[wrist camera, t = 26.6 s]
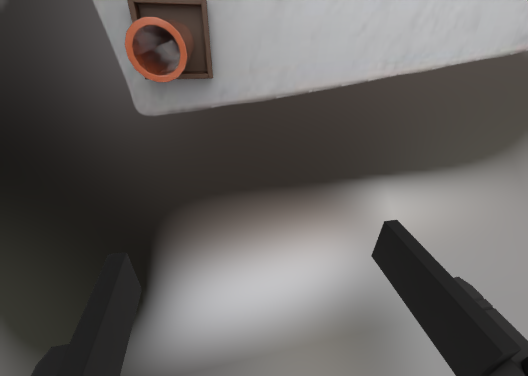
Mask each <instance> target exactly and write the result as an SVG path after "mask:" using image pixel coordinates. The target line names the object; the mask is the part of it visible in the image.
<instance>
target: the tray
mask: <svg viewBox="0 0 528 376" xmlns="http://www.w3.org/2000/svg"><path fill="white" fill-rule="evenodd" d="M127 1H128V5H129V9H130V14H131V18H132V23H133V22H134V21H136V20H138V19H140V18H142V17H159V18H166V19H173V20H177V21H180V22H182V23H183V24H185V25H186V26H187V27H188V28H189V29H190V31H191V33H192V35H193V37H194V43H195V47H194V51H193V54H192V56H191V58H190V59H189V61H188V63H187V65H186V67H185V69H184V70H183V72H182V73H181V74H180V75H179V77H177V78H176V79H206V78H213V72H212V61H211V49H210V38H209V26H208V15H207V3H206V0H127ZM145 79H148V78H146V77H145Z"/></svg>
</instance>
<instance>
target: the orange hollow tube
mask: <svg viewBox="0 0 528 376" xmlns="http://www.w3.org/2000/svg"><path fill="white" fill-rule="evenodd" d="M194 47H195V43H194V37H193V35H192V33H191V31H190V29H189V28H188V27H187V26H186V25H185V24H183V23H182V22H180V21H177V20H173V19H166V18H159V17H142V18H140V19H138V20H136V21H134V22H133V23H132V25H131V26H130V27H129V29H128V30H127V33H126V39H125V48H126V52H127V56H128V58H129V60H130V62H131V63H132V65H133V66H134V68H135V69H136V70H137V71H138V72H139V73H140V74H142V75H143V76H144V77H146V78H148V79H150V80H153V81H156V82H169V81H171V80H174V79H176V78H177V77H179V75H180V74H181V73H182V72H183V70H184V69H185V67H186V65H187V63H188V61H189V59H190V58H191V56H192V54H193V51H194Z"/></svg>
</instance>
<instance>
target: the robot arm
mask: <svg viewBox="0 0 528 376" xmlns="http://www.w3.org/2000/svg"><path fill="white" fill-rule="evenodd" d="M372 257H373V259H374V260H375V262H376V263H377V264H378V266H379V267H380V269H381V270H382V271H383V273H384V274H385V276H386V277H387V278H388V280H389V281H390V283H391V284H392V286H393V287H394V289H395V290H396V291H397V293H398V294H399V296H400V297H401V298H402V300H403V301H404V303H405V304H406V306H407V307H408V308H409V310H410V311H411V312H412V314H413V315H414V317H415V318H416V320H417V321H418V322H419V324H420V325H421V327H422V328H423V329H424V331H425V332H426V334H427V335H428V337H429V338H430V339H431V341H432V342H433V344H434V345H435V347H436V348H437V349H438V351H439V352H440V354H441V355H442V356H443V358H444V359H445V361H446V362H447V363H448V365H449V366H450V368H451V369H452V371H453V372H454V373H455V375H456V376H528V341H527V340H526V339H525V338H524V337H523V336H522V335H521V334H520V333H519V332H518V331H517V330H516V329H515V328H514V327H513V326H512V325H511V324H510V323H509V322H508V321H507V320H506V319H505V318H504V317H503V316H502V315H501V314H500V313H499V312H498V311H497V310H496V309H494V308H493V307H492V305H491V304H490V303H489V302H488V301H487V300H486V299H484V298H483V296H482V295H481V294H480V293H479V292H478V291H477V290H476V289H475V288H474V287H473V286H472V285H470V284H468V283H467V282H466V281H464V280H463V279H461V278H460V277H455V278H453V277H452V276H451V275H450V274H449V273H448V272H447V271H446V270H445V269H444V268H443V267H442V266H441V265H440V264H439V263H438V262H437V261H436V260H435V259H434V258H433V257H432V256H431V254H430V253H429V252H428V251H427V250H426V249H425V248H424V247H423V246H422V245H421V244H420V243H419V242H418V241H417V240H416V239H415V238H414V237H413V236H412V235H411V234H410V233H409V232H408V231H407V230H406V229H405V228H404V227H403V226H402V225H401V223H400V222H398V220H391V221H384V224H383V227H382V229H381V232H380V234H379V237H378V240H377V243H376V245H375V248H374V251H373V253H372ZM140 293H141V287H140V284H139V282H138V279H137V277H136V275H135V272H134V270H133V267H132V265H131V262H130V260H129V258H128V255H127V253H117V254H109V255H108V256H107V259H106V261H105V263H104V266H103V268H102V270H101V272H100V275H99V278H98V280H97V282H96V284H95V286H94V289H93V291H92V293H91V295H90V298H89V300H88V302H87V305H86V307H85V309H84V312H83V314H82V316H81V319H80V321H79V323H78V325H77V328H76V330H75V333H74V335H73V337H72V339H71V342H70V344H67V345H61V346H56V347H51V348H50V349H49V351H48V352H47V353H46V354H45V355H44V357H43V358H42V359H41V360H40V361H39V362H38V364H37V365H36V367H35V369H34V371H33V373H32V375H31V376H120V373H121V369H122V365H123V361H124V357H125V353H126V349H127V345H128V341H129V337H130V333H131V329H132V325H133V321H134V317H135V313H136V309H137V305H138V301H139V297H140Z"/></svg>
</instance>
